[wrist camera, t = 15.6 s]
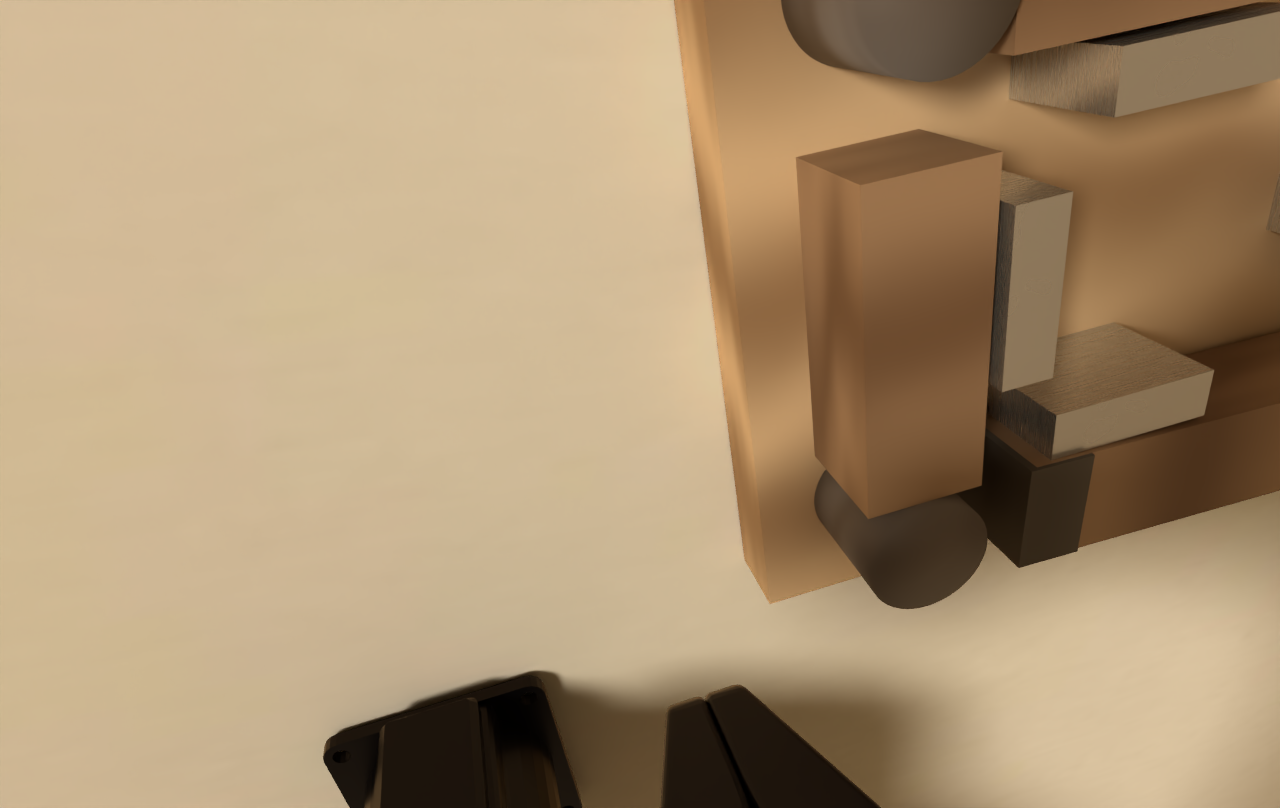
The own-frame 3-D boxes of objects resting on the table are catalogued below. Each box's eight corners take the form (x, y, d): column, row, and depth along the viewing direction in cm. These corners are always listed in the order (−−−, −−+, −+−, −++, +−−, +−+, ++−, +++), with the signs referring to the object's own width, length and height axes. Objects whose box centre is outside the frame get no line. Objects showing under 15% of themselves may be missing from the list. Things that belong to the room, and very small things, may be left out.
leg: (1384, 302, 22) (1512, 343, 19) (1351, 396, 23) (1465, 446, 21) (956, 409, 20) (1035, 470, 17) (948, 503, 21) (1020, 573, 19)
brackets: (1280, 314, 22) (1397, 357, 19) (922, 415, 20) (995, 477, 18) (1372, -41, 17) (1538, -46, 15) (928, 56, 16) (1026, 67, 13)
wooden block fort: (1308, 391, 26) (1481, 469, 22) (744, 559, 24) (815, 685, 19) (1513, -309, 18) (1869, -408, 13) (653, -165, 15) (747, -229, 11)
